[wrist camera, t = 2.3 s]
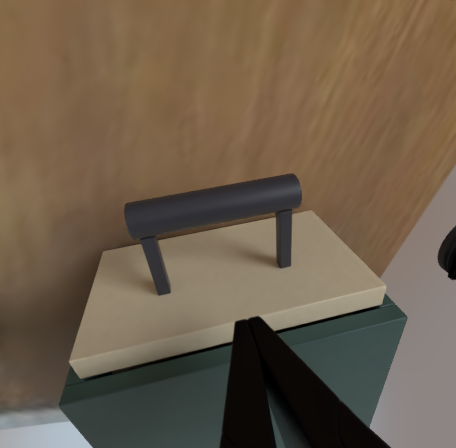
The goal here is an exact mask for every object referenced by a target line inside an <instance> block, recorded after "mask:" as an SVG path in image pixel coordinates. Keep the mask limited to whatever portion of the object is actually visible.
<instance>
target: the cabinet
mask: <svg viewBox="0 0 456 448" xmlns="http://www.w3.org/2000/svg"><path fill="white" fill-rule="evenodd" d="M353 314H354V315H351V316H347V317H343V318H338V319H334V320H330V321H326V322H322V323H318V324H314V325H310V326H306V327H302V328H298V329H294V330H290V331H286V332H282V333H278V335H279V336H280V337H281V338H282V340H283V341H284V342H285V343H286V344H287V345H288V346H289V347H290V348H291V349H292V350H293V351H294V352H295V353H296V354H297V355H298V356H299V357H300V358H301V359H302V360H303V361H304V362H305V363H306V364H307V365H308V366H309V367H310V368H311V369H312V370H313V371H314V373H315V374H316V375H317V376H318V377H319V378H320V379H321V380H322V381H323V382H324V383H325V384H326V385H327V386H328V387H329V388H330V389H331V390H332V391H333V392H334V393H335V394H336V395H337V396H338V397H339V399H340V401H343V402H344V403H345V404H346V405H347V406H348V407H349V408H350V409H351V411H352V412H353V413H354V414H355V415H356V416H358V417H359V418H360V419H361V420H362V421H363V422H364V423H365V424H366V425H367V426H368V427H370V424H371V421H372V418H373V415H374V412H375V410H376V407H377V404H378V401H379V398H380V395H381V392H382V389H383V387H384V384H385V381H386V378H387V375H388V372H389V370H390V366H391V364H392V361H393V358H394V355H395V352H396V350H397V346H398V344H399V341H400V338H401V335H402V332H403V330H404V327H405V324H406V321H407V316H406V315H405V314H404V313H403V312H402V311H401V310H400V309H399V308H398V307H397V305H395V303H394V302H393V301H392V300H391V299H390V298H389V297H388V296H387V295H386V294H385V295H384V298H383V302H382V304H381V305H378V306H374V307H369V308H365V309H361V310H357V311H353ZM231 349H232V345H230V346H226V347H222V348H218V349H214V350H210V351H206V352H202V353H198V354H194V355H190V356H186V357H182V358H178V359H174V360H170V361H166V362H161V363H157V364H153V365H149V366H145V367H141V368H137V369H133V370H129V371H125V372H121V373H117V374H113V375H112V372H113V371H110V372H106V373H102V374H98V375H94V376H90V377H86V378H82V379H80V378H79V376H78V375H77V373H76V372H75V371H74V369H73V368H72V366H70V370H69V373H68V376H67V380H66V383H65V387H64V389H63V393H62V396H61V399H60V403H59V408H60V409H61V411H62V412H63V413H64V414H65V415H66V416H67V418H68V419H69V420H70V421H71V422H72V424H73V425H74V426H75V427H76V428H77V429H78V431H79V432H80V433H81V434H82V435H83V436H84V438H85V439H86V440H87V441H88V442H89V444H90V445H91V446H92V447H93V448H219V446H220V438H221V434H222V432H221V431H222V423H223V415H224V407H225V398H226V390H227V382H228V374H229V365H230V357H231ZM269 408H270V406H269ZM270 414H271V419H272V424H273V430H274V435H275V441H276V446H277V448H286V447H285V445H284V442H283V440H282V437H281V434H280V432H279V429H278V427H277V424H276V421H275V419H274V416H273V414H272V411H271V408H270Z"/></svg>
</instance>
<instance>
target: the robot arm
mask: <svg viewBox="0 0 456 448" xmlns="http://www.w3.org/2000/svg"><path fill="white" fill-rule="evenodd" d="M448 278H450V279H451V280H456V257H455V259H454V261H453V264H452V266H451V269H450V271H449V273H448ZM269 406H270V408H271V411H272V414H273V416H274V419H275V421H276V424H277V427H278V429H279V432H280V434H281V437H282V440H283V442H284V445H285V447H286V448H391V447H390V446H389V445H387V444H386V443H385V442H384V441H383V440H382V439H381V438H380V437H379V436H378V435H376V434H375V433H374V432H373V431H372V430H371V429H370V428H369V427H368V426H367V425H366V424H365V423H364V422H363V421H362V420H361V419H360V418H359V417H358V416H356V415H355V414H354V413H353V412H352V411H351V409H350V408H349V407H348V406H347V405H346V404H345V403H344V402H343V401H340V399H339V397H338V396H337V395H336V394H335V393H334V392H333V391H332V390H331V389H330V388H329V387H328V386H327V385H326V384H325V383H324V382H323V381H322V380H321V379H320V378H319V377H318V376H317V375H316V374H315V373H314V371H313V370H312V369H311V368H310V367H309V366H308V365H307V364H306V363H305V362H304V361H303V360H302V359H301V358H300V357H299V356H298V355H297V354H296V353H295V352H294V351H293V350H292V349H291V348H290V347H289V346H288V345H287V344H286V343H285V342H284V341H283V340H282V338H281V337H280V336H279V335H278V334H277V333H276V332H275V331H274V330H273V329H272V328H271V327H270V326H269V325H268V324H267V323H266V322H265V321H264V320H263V319H262V318H261V317H260V316H254V317H250V318H248V319H241V320H237V321H235V324H234V332H233V341H232V349H231V357H230V365H229V374H228V382H227V390H226V398H225V407H224V415H223V423H222V431H221V432H222V434H221V438H220V446H219V448H277V446H276V441H275V435H274V430H273V424H272V419H271V414H270V408H269Z"/></svg>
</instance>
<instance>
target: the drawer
mask: <svg viewBox="0 0 456 448" xmlns="http://www.w3.org/2000/svg"><path fill="white" fill-rule="evenodd" d="M301 200H302V193H301V187H300V183H299V180H298V178H297V177H296V175H294V174H286V175H280V176H275V177H269V178H263V179H258V180H252V181H247V182H241V183H236V184H230V185H225V186H219V187H213V188H208V189H202V190H197V191H191V192H186V193H180V194H175V195H169V196H163V197H158V198H152V199H147V200H141V201H136V202H130V203H126V204H125V210H124V211H125V220H126V225H127V228H128V231H129V234H130V236H131V237H132V239H134V240H136V239H140V242H141V244H138V245H133V246H128V247H123V248H117V249H112V250H107V251H103V253H102V257H101V260H100V263H99V266H98V269H97V273H96V276H95V279H94V282H93V285H92V289H91V292H90V295H89V298H88V301H87V305H86V308H85V311H84V314H83V318H82V321H81V324H80V327H79V330H78V334H77V337H76V340H75V343H74V346H73V350H72V353H71V356H70V359H69V363H70V365H71V366H72V368H73V369H74V371H75V372H76V373H77V375H78V376H79V378H80V379H82V378H86V377H90V376H94V375H98V374H102V373H106V372H110V371H113V372H112V375H113V374H117V373H121V372H125V371H129V370H133V369H137V368H141V367H145V366H149V365H153V364H157V363H161V362H166V361H170V360H174V359H178V358H182V357H186V356H190V355H194V354H198V353H202V352H206V351H210V350H214V349H218V348H222V347H226V346H230V345H232V341H233V332H234V324H235V321H237V320H241V319H248V318H250V317H254V316H260V317H261V318H262V319H263V320H264V321H265V322H266V323H267V324H268V325H269V326H270V327H271V328H272V329H273V330H274V331H275V332H276V333H277V334H278V333H282V332H286V331H290V330H294V329H298V328H302V327H306V326H310V325H314V324H318V323H322V322H326V321H330V320H334V319H338V318H343V317H347V316H351V315H354V314H353V311H357V310H361V309H365V308H369V307H374V306H378V305H381V304H382V302H383V298H384V295H385V291H386V287H387V286H386V285H385V284H384V283H383V282H382V281H381V280H380V279H379V278H378V277H377V276H376V275H375V274H374V272H373V271H372V270H371V269H370V268H369V267H368V266H367V265H366V264H365V263H364V262H363V261H362V260H361V259H360V258H359V257H358V256H357V255H356V254H355V253H354V252H353V251H352V250H351V249H350V248H349V247H348V246H347V245H346V244H345V243H344V242H343V241H342V240H341V239H340V238H339V237H338V236H337V235H336V234H335V233H334V232H333V231H332V230H331V229H330V228H329V227H328V226H327V225H326V224H325V223H324V222H323V221H322V220H321V219H320V218H319V217H318V216H317V215H316V214H315V213H314V212H313V211H312V210H310V211H305V212H300V213H294V214H292V209H294V208H298V207H299V206H300V204H301ZM274 212H276V217H274V218H269V219H264V220H259V221H254V222H249V223H244V224H239V225H234V226H229V227H224V228H219V229H214V230H208V231H203V232H198V233H193V234H188V235H183V236H178V237H173V238H168V239H163V240H157V236H156V235H162V234H167V233H172V232H177V231H182V230H187V229H192V228H197V227H202V226H208V225H213V224H218V223H223V222H228V221H233V220H238V219H243V218H248V217H254V216H259V215H264V214H269V213H274Z"/></svg>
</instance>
